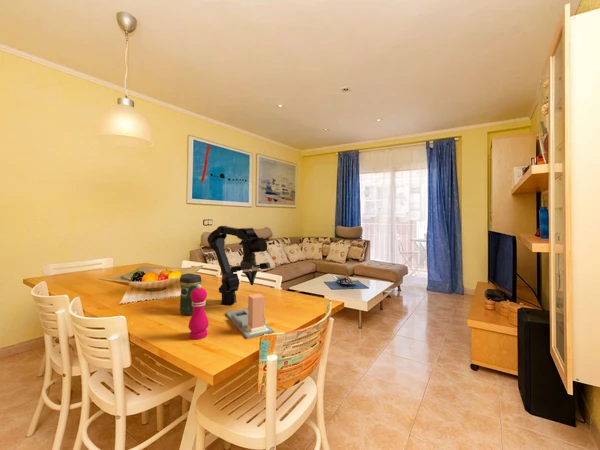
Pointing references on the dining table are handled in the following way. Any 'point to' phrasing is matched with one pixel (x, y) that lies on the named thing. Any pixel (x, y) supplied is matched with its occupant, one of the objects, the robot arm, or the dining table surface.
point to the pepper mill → (198, 314)
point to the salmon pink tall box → (256, 312)
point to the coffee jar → (188, 292)
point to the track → (242, 320)
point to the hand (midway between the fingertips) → (252, 285)
